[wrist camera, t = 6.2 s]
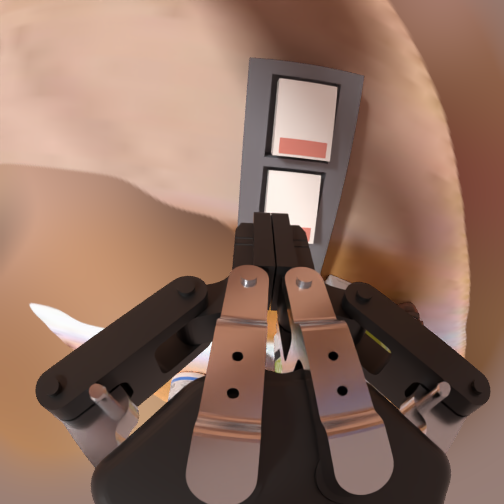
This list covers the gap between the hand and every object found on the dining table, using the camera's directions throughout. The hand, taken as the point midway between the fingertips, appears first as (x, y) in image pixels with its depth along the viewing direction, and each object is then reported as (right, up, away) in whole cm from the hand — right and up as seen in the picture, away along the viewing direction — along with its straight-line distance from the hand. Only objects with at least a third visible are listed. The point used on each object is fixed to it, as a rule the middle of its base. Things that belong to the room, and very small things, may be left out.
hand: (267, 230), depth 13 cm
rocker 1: (+3, +9, +8) cm, 13 cm away
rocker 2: (+3, +3, +12) cm, 13 cm away
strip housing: (+3, +6, +16) cm, 17 cm away
